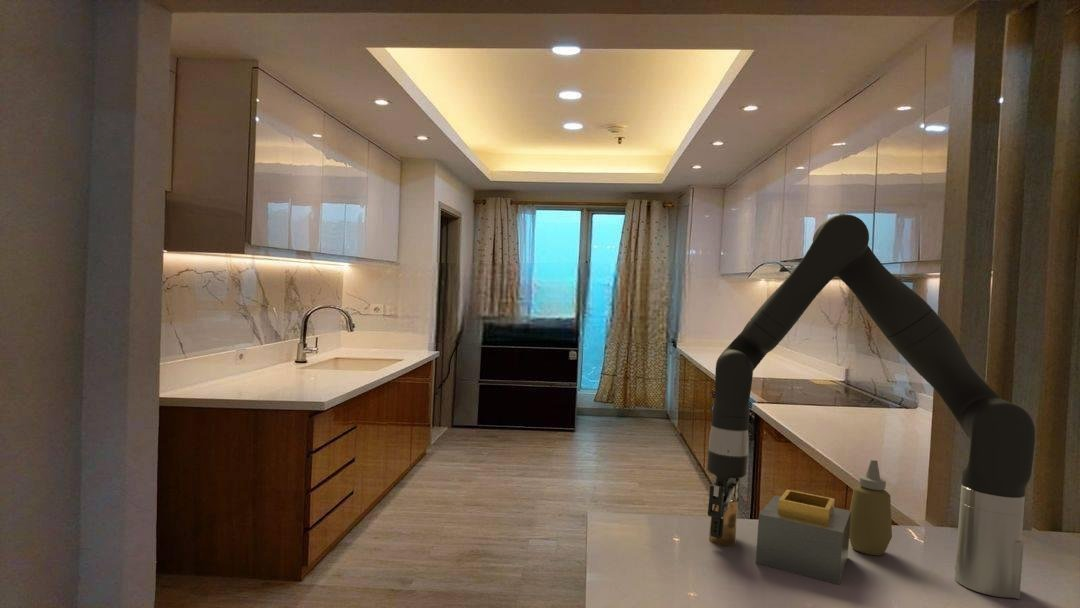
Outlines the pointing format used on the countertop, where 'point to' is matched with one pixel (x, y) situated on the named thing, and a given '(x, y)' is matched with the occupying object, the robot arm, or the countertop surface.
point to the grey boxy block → (804, 536)
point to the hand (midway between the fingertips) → (722, 530)
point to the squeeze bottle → (870, 514)
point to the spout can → (727, 526)
